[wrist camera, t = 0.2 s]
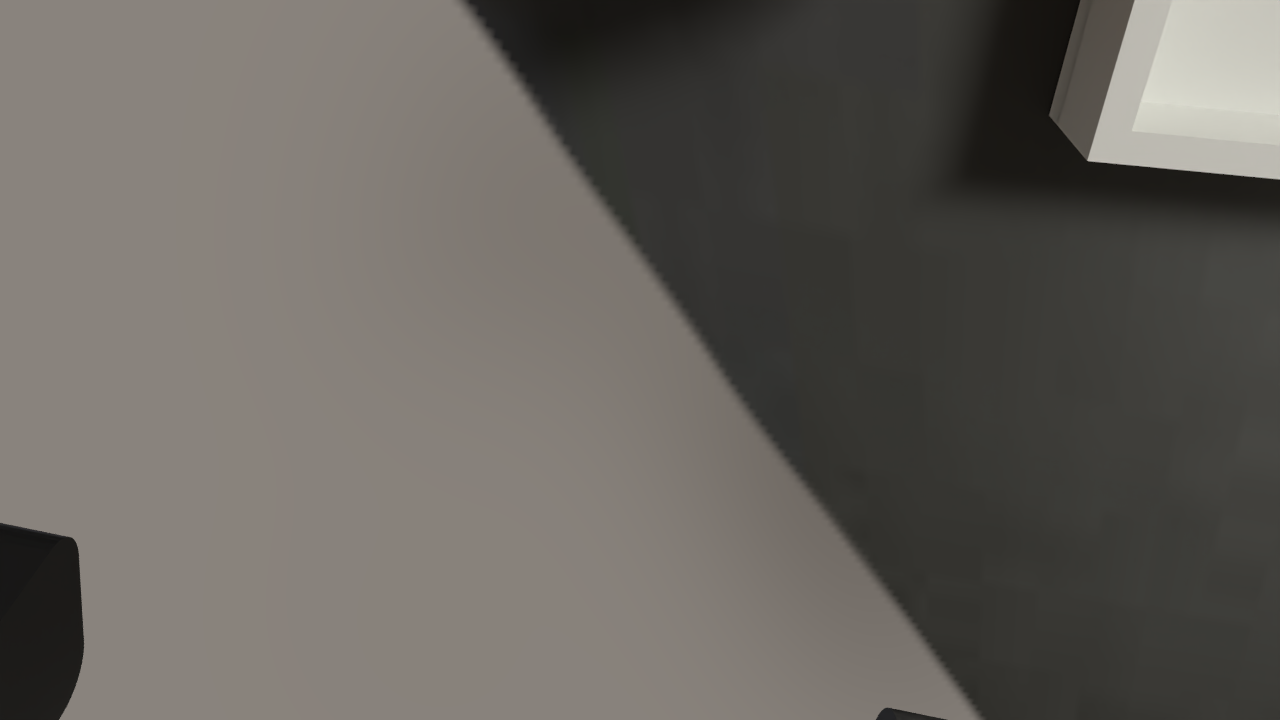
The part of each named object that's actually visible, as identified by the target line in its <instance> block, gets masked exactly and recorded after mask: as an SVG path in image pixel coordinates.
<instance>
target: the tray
mask: <svg viewBox="0 0 1280 720" xmlns="http://www.w3.org/2000/svg"><path fill="white" fill-rule="evenodd" d="M1049 116H1050V117H1051V119H1052V120H1053V121H1054V122H1055V123H1056V124H1057V126H1058V127H1059V128H1060V129H1061V130H1062V132H1063V133H1064V134H1065V135H1066V136H1067V138H1068V139H1069V140H1070V141H1071V142H1072V144H1073V145H1074V146H1075V147H1076V148H1077V149H1078V151H1079V152H1080V153H1081V154H1082V155H1083V157H1084V158H1085V159H1086V160H1087V161H1092V162H1102V163H1113V164H1123V165H1134V166H1144V167H1155V168H1165V169H1176V170H1186V171H1197V172H1207V173H1218V174H1228V175H1239V176H1249V177H1260V178H1270V179H1280V0H1080V4H1079V7H1078V11H1077V15H1076V18H1075V22H1074V26H1073V29H1072V33H1071V37H1070V40H1069V44H1068V48H1067V51H1066V55H1065V59H1064V62H1063V66H1062V70H1061V73H1060V77H1059V81H1058V84H1057V88H1056V92H1055V95H1054V99H1053V103H1052V106H1051V110H1050V114H1049Z"/></svg>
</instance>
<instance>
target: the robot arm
mask: <svg viewBox="0 0 1280 720" xmlns="http://www.w3.org/2000/svg"><path fill="white" fill-rule="evenodd" d="M80 586H81V585H80V568H79V553H78V547H77V544H76V542H75V540H74V539H73V538H71V537H66V536H61V535H56V534H51V533H47V532H42V531H37V530H32V529H27V528H22V527H17V526H12V525H7V524H3V523H0V720H59V719H60V717H61V715H62V714H63V712H64V710H65V708H66V707H67V705H68V703H69V700H70V698H71V696H72V693H73V691H74V688H75V686H76V683H77V680H78V676H79V673H80V669H81V665H82V659H83V652H84V636H83V621H82V620H83V619H82V602H81V587H80ZM876 720H946V719H941V718H936V717H930V716H926V715H921V714H916V713H911V712H906V711H902V710H897V709H892V708H885V709H883V710H882V711H881V712H880V714H879V715H878V717H877V719H876Z"/></svg>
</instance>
